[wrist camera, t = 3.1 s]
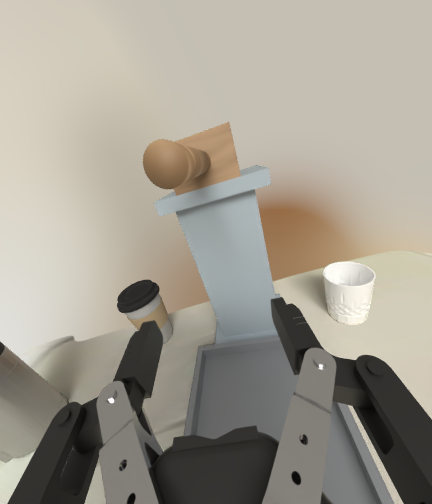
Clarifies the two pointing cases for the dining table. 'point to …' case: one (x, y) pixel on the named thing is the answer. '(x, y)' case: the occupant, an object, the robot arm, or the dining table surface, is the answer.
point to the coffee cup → (145, 306)
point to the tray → (276, 413)
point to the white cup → (348, 291)
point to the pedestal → (229, 252)
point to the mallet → (192, 160)
